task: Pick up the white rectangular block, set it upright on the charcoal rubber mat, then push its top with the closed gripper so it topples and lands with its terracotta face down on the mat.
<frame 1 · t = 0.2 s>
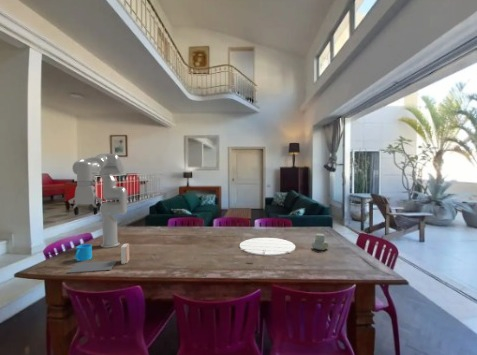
hand: (86, 214, 152), 31 cm above the table, fingers open, 9 cm apart
air freshener: (319, 249, 186), on the table
mat: (93, 267, 155), on the table
white rectangular block: (125, 261, 164), on the table
mug: (82, 260, 167), on the table
lazy susan: (267, 247, 192), on the table
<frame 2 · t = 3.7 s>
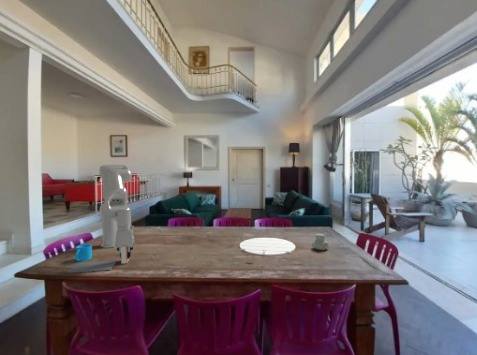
hand: (125, 257, 164), 2 cm above the table, fingers closed on white rectangular block, 3 cm apart
white rectangular block: (125, 261, 164), on the table, touching gripper
everything else where it was.
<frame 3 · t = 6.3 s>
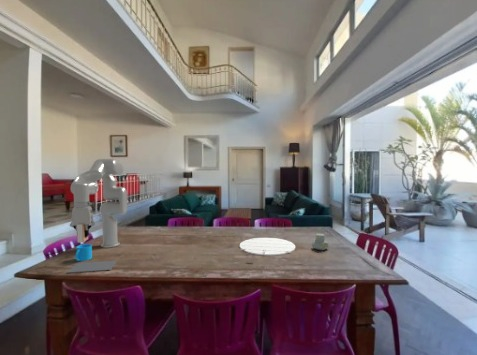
hand: (83, 236, 154), 18 cm above the table, fingers closed on white rectangular block, 3 cm apart
white rectangular block: (83, 240, 154), point 16 cm above the table, touching gripper
everything else where it was.
when the fingers open (4 cm above the table, at t = 9.1 s): white rectangular block stays where it is, resting on mat.
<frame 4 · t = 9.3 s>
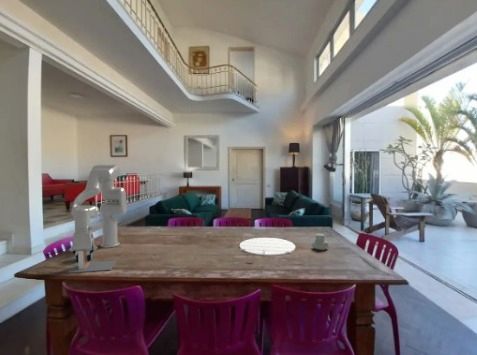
hand: (83, 261, 154), 4 cm above the table, fingers open, 4 cm apart
white rectangular block: (84, 266, 155), point 1 cm above the table, touching mat
everything else where it was.
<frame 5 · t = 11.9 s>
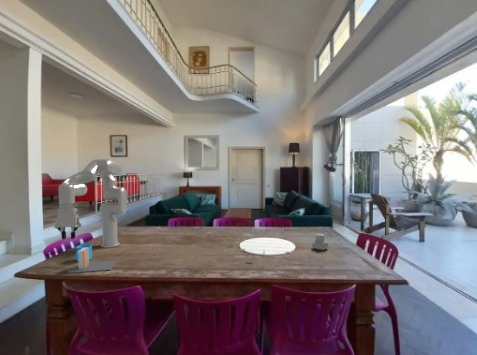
hand: (68, 238, 152), 17 cm above the table, fingers open, 3 cm apart
nothing on the table moved.
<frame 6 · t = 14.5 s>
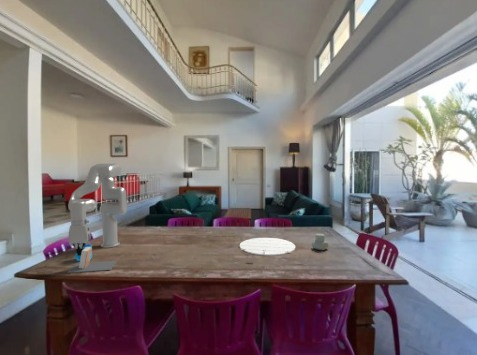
hand: (80, 254, 154), 8 cm above the table, fingers closed
white rectangular block: (84, 266, 155), point 1 cm above the table, tilted 11°, touching gripper, mat
everything else where it was.
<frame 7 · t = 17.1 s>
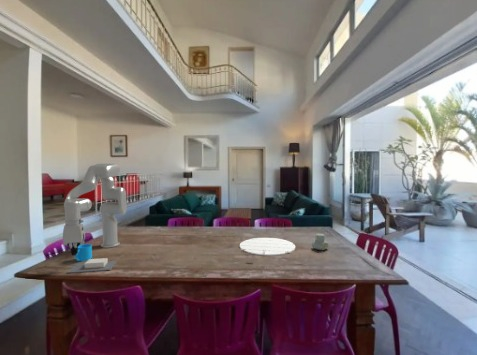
hand: (74, 254, 154), 8 cm above the table, fingers closed
white rectangular block: (87, 263, 155), point 2 cm above the table, tilted 90°, touching mat
everything else where it was.
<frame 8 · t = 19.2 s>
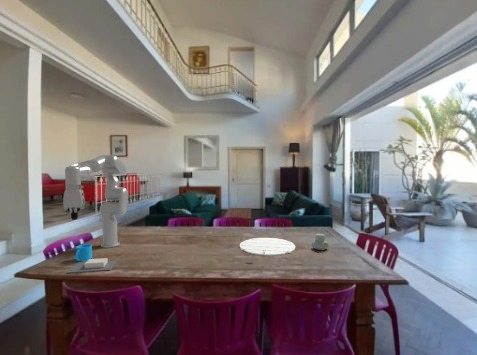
hand: (74, 219, 157), 27 cm above the table, fingers closed
nothing on the table moved.
at the end: white rectangular block tilted 90°; white rectangular block inside the target area on the mat (3.4 cm from its centre), point 2.1 cm above the mat's base; the gripper is holding nothing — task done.
